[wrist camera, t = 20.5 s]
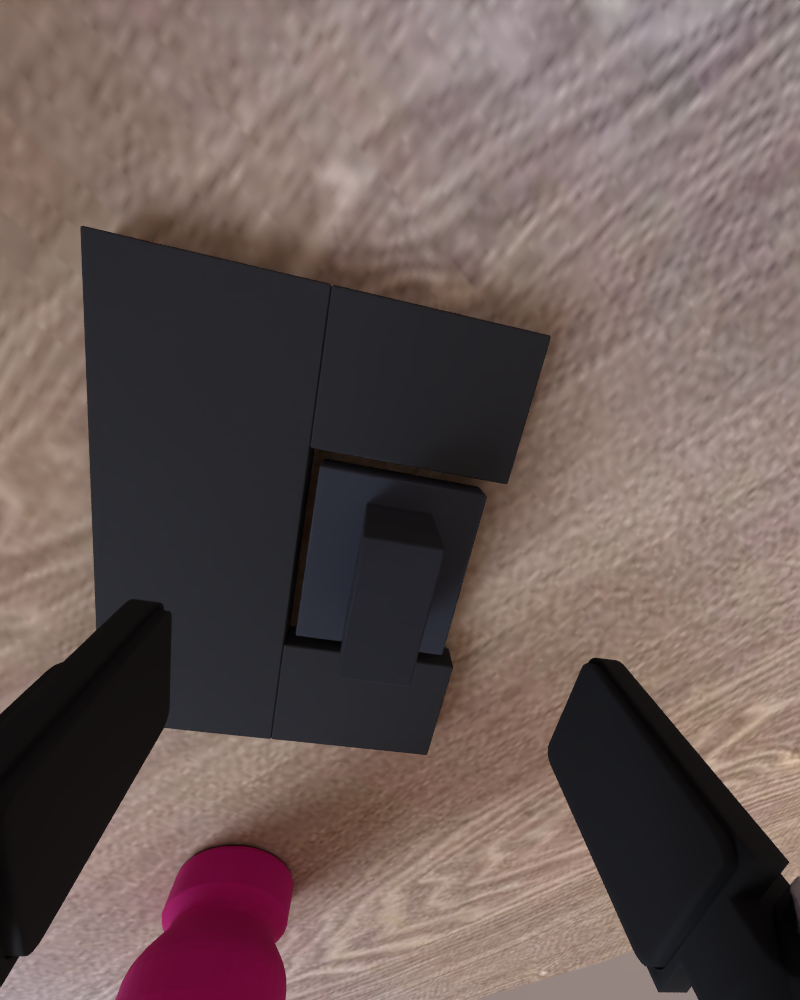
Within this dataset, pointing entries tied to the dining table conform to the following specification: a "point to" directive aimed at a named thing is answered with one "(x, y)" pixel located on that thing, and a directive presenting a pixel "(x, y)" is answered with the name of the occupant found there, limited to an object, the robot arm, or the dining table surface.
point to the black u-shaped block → (270, 467)
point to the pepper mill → (218, 931)
